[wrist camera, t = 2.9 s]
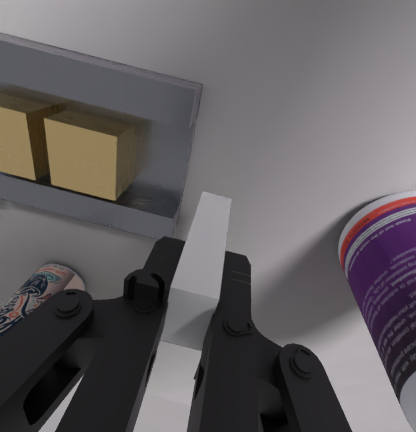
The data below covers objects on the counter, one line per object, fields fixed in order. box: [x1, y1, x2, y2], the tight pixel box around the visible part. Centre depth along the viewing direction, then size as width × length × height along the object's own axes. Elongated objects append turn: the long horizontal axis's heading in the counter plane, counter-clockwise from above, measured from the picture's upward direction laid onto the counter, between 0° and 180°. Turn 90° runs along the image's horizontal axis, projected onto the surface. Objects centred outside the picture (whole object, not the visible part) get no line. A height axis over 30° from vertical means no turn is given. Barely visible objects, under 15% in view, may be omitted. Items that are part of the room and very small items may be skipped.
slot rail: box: [0, 33, 203, 240], centre depth 17 cm, size 10×13×2 cm
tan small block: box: [0, 89, 60, 180], centre depth 17 cm, size 4×4×3 cm
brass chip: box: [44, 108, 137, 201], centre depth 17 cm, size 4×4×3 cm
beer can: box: [0, 264, 85, 337], centre depth 22 cm, size 5×5×12 cm
